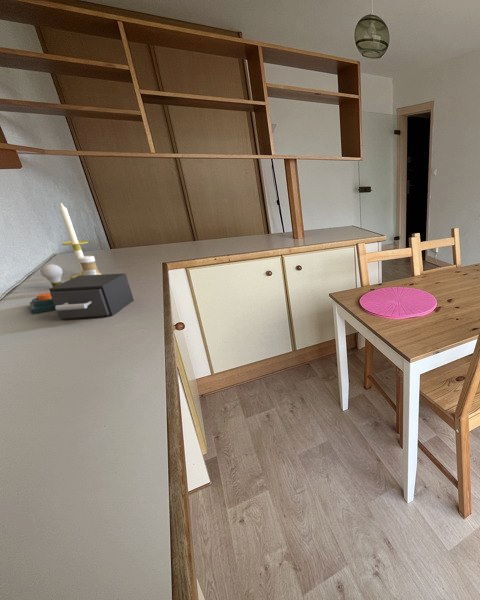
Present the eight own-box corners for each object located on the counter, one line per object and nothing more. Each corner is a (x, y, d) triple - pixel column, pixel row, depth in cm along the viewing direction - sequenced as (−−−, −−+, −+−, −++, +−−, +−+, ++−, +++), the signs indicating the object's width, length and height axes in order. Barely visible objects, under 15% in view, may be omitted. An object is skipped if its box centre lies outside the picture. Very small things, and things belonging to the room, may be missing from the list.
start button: (54, 299, 108) (52, 294, 107) (38, 301, 105) (36, 296, 105) (53, 296, 110) (51, 291, 109) (38, 299, 108) (36, 294, 107)
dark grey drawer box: (112, 316, 103) (102, 285, 100) (61, 320, 100) (48, 288, 96) (133, 300, 116) (125, 273, 113) (89, 303, 113) (79, 275, 109)
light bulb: (46, 291, 123) (36, 267, 119) (49, 287, 127) (39, 263, 124) (67, 288, 126) (58, 264, 123) (69, 285, 131) (60, 261, 127)
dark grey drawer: (100, 320, 98) (90, 294, 95) (50, 324, 95) (38, 297, 91) (128, 300, 114) (121, 277, 111) (86, 303, 111) (77, 279, 107)
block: (67, 307, 109) (63, 298, 107) (33, 314, 103) (28, 304, 102) (64, 300, 115) (60, 291, 113) (31, 306, 109) (27, 297, 108)
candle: (104, 275, 144) (80, 202, 133) (75, 280, 137) (46, 203, 125) (97, 271, 149) (73, 200, 138) (68, 276, 142) (40, 201, 130)
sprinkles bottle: (107, 287, 129) (96, 255, 125) (100, 290, 125) (89, 258, 121) (93, 287, 128) (82, 255, 124) (86, 291, 124) (74, 258, 119)
